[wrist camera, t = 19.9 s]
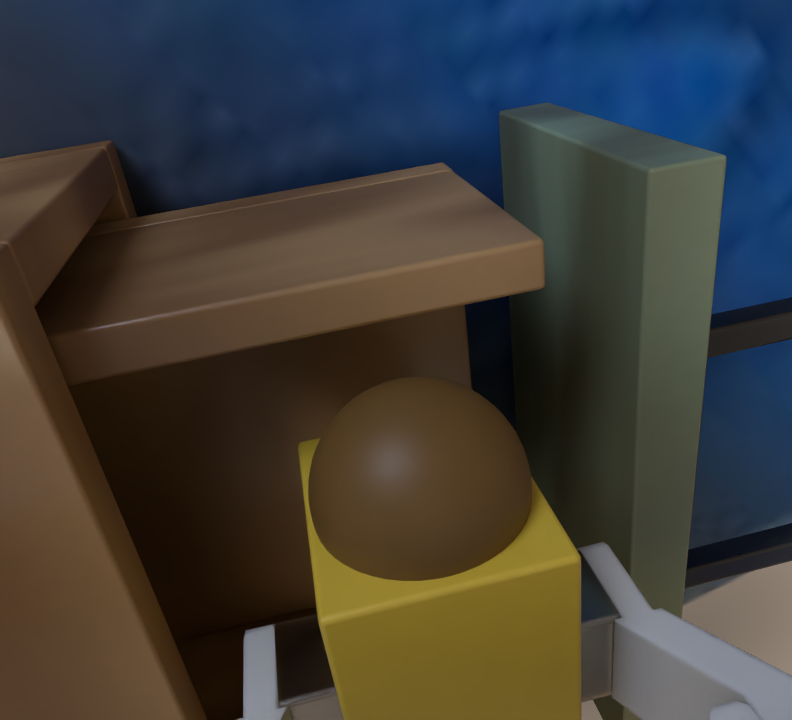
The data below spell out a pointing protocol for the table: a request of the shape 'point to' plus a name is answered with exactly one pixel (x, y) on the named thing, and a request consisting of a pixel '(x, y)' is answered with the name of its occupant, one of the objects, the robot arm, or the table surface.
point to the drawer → (406, 360)
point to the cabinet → (66, 482)
